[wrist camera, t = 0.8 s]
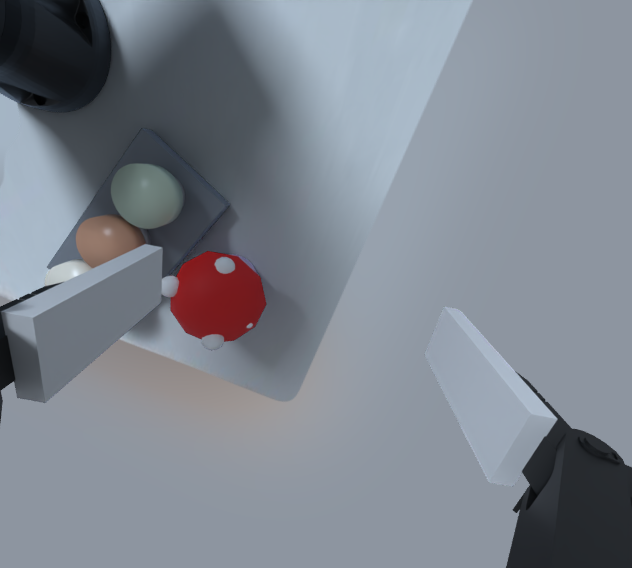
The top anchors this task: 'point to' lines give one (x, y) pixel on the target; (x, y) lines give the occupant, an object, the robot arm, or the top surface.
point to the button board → (174, 237)
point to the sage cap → (146, 195)
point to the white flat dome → (66, 271)
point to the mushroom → (216, 297)
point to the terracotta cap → (106, 239)
